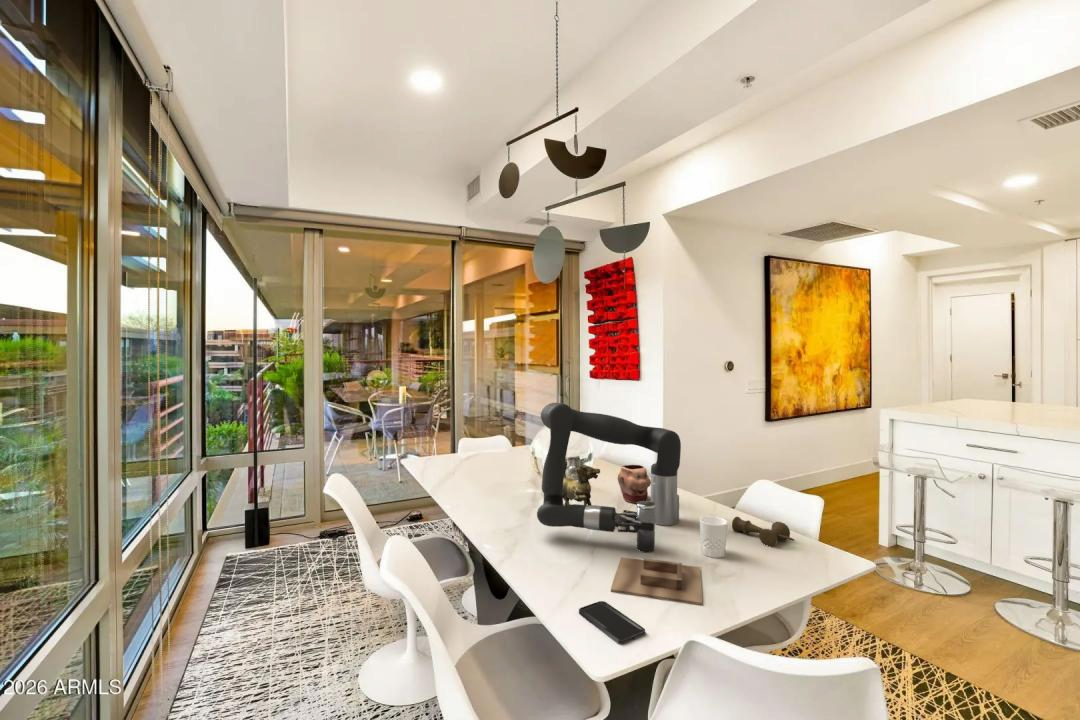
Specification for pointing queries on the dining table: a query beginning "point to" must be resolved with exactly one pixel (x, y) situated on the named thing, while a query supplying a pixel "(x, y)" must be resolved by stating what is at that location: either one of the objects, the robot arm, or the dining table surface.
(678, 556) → the dining table surface
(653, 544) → the graphite canister
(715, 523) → the white cup
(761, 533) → the kendama
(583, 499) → the figurine
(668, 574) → the walnut bracket
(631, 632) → the phone
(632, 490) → the decorative planter
